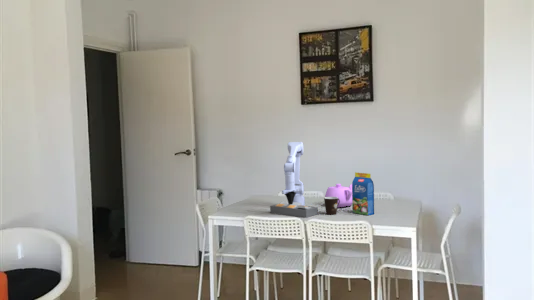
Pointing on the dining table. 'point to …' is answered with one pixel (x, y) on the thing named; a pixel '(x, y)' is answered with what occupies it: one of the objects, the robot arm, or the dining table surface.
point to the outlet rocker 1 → (282, 204)
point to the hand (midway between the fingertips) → (290, 204)
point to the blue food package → (363, 194)
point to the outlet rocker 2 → (294, 205)
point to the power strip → (294, 211)
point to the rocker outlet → (304, 207)
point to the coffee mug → (331, 205)
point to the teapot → (341, 194)
